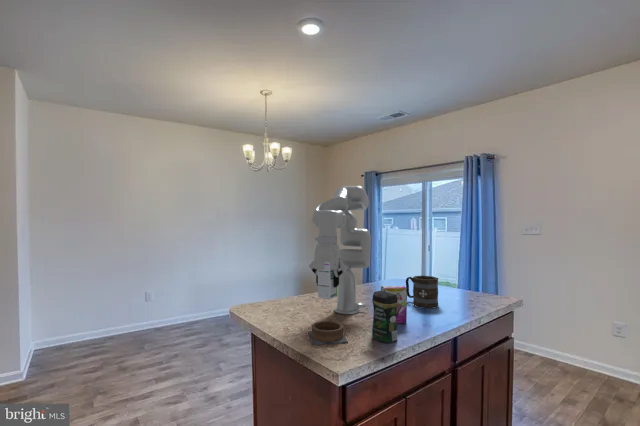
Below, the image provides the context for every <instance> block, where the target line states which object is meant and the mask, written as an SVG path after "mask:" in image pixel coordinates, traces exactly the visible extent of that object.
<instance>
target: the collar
mask: <svg viewBox="0 0 640 426" xmlns="http://www.w3.org/2000/svg"><path fill="white" fill-rule="evenodd" d="M344 331H345V330H344V325H343V323H340V322H338V321H332V320H331V321H330V320H328V321H327V320H323V321H316V322H314V323H313V324H311V330H308V335H309V338H310V341H311V344H312V346H314V345H315V346H316V345H332V344H333V345H334V344H336V345H337V344H348V343H349V340H348V339H347V338H346V336H345V333H344Z"/></svg>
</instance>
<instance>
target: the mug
mask: <svg viewBox="0 0 640 426" xmlns="http://www.w3.org/2000/svg"><path fill="white" fill-rule="evenodd" d="M409 279H410V280H411V283H413V285H412V286H413V288H412V294H413V295H410V294H411V293H410V285H409ZM438 284H439V277H435V276H431V275H414V276H413V277H411V276H408V277H406V279H405V287H406V288H407V298H410V299H413V300H412V301H413V302H412V305H413V304H414V305H416V306H418V307H417V308H419V307H425V308H424V309H427V308H430V309H434V308H433V307H437V306H438V307H439V285H438ZM414 305H413V306H414ZM416 306H415V307H416ZM438 307H437V308H438Z"/></svg>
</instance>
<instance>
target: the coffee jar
mask: <svg viewBox="0 0 640 426" xmlns="http://www.w3.org/2000/svg"><path fill="white" fill-rule="evenodd" d="M371 300H372V301H371V302H372V306H373V316H372V317H373V320H372V330H371V331H372V333H371V336H372V338H373V339H375V340H377V341H380V342H383V343H387V344H388V343H394V342H396V341H397V340H398V324H397V322H396V308H397V304H398V301H397V295H396V294H392V293H388V292H384V291H381V290H377V291H374V292H373V293H372V299H371Z"/></svg>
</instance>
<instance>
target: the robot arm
mask: <svg viewBox="0 0 640 426" xmlns="http://www.w3.org/2000/svg"><path fill="white" fill-rule="evenodd" d="M369 200H370V199H369V196H368V194H367V191H366V190H365V189H364V187H362V186H361V185H343V186H339V187H338V188H337V189H336V190H335V192H334V194H333V196H332V197H331V198H330V199H328V200H326V201H323V202H321V203H319V204H318V205H317V206H316V207H315V209H314V211H313V214H312V219H311V220H312V221H311V222H312V224H313V226H314V227H316V228H318V236H317V237H315V239H314V241H315V242H317V244H316V245H315V249H314V255H313V256H314V257H313V259H314V260H313V261H312V262H311V263H310V264H309V265H308V268H310V270H311V271H312V273H314V276H315V282H316V286H317V287H318V270H321V269H324V267H325V265H324V264H325V262H330V270H333V272H334V274H335V277H334V287H337V297H336V302H337V303H336V306H335V307H334V308H333V311H334V312H335V313H336V314H340V315H355V314H358V313H359V312H360V308H366V303H362V302H357V276H356V274H355V272H354V271H353V269H368V268H369V266H370V264H371V247H372V246H371V244H372V240H371V239H372V237H371V236H372V235H371V233H370V230H368V229H367V228H358V227H357V226H358V220H357V217H356V216H355V214H354V213H353V212H352V211H366V210H367V209H368V207H369V203H370V201H369ZM338 229H340V230H339V242H340V245H341V246H343V247H349V248H341V249H340V246H339V244H338ZM355 248H356V249H355ZM357 248H360V249H357ZM323 263H324V264H323Z"/></svg>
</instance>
